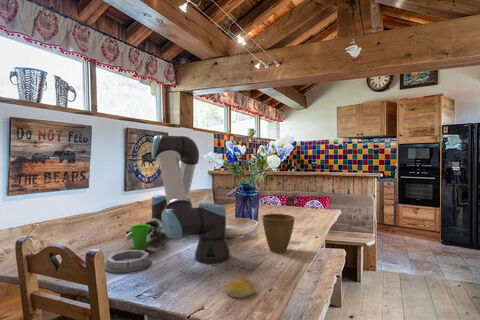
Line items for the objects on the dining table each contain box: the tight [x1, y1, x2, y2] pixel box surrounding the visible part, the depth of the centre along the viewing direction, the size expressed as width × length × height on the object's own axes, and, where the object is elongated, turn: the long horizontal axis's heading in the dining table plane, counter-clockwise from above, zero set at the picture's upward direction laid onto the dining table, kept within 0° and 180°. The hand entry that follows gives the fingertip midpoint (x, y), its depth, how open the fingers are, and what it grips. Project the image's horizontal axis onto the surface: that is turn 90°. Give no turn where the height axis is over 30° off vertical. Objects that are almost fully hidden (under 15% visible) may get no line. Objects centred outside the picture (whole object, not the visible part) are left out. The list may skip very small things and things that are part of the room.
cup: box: [130, 223, 150, 251], centre depth 136 cm, size 9×9×11 cm
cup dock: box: [105, 249, 152, 274], centre depth 117 cm, size 18×18×4 cm
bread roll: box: [225, 277, 256, 299], centre depth 92 cm, size 8×9×4 cm
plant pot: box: [262, 213, 296, 254], centre depth 134 cm, size 15×15×16 cm
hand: (136, 238), depth 131 cm, fingers closed on cup, 9 cm apart
